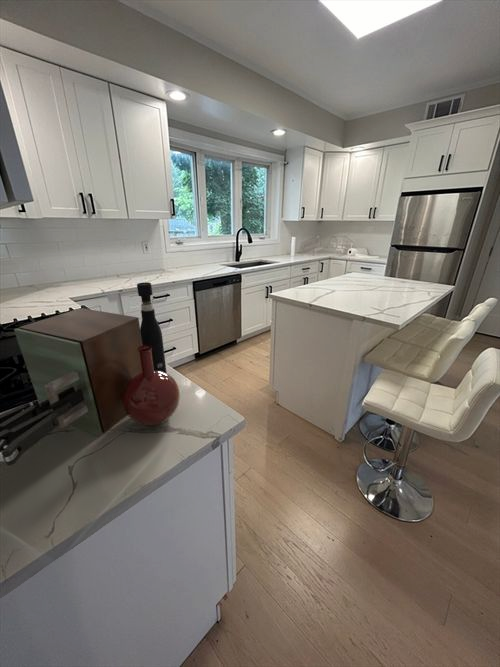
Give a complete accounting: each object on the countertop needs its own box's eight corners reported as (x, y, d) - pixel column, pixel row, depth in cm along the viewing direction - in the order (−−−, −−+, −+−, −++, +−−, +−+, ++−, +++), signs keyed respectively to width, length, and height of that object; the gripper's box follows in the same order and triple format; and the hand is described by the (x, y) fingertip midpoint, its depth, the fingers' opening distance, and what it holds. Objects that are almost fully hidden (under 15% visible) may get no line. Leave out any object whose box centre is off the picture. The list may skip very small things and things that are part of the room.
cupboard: (104, 433, 65) (82, 341, 56) (47, 412, 72) (18, 327, 63) (150, 396, 79) (138, 317, 70) (98, 381, 86) (81, 307, 77)
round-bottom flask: (165, 442, 63) (154, 365, 55) (115, 432, 66) (98, 357, 58) (190, 407, 75) (184, 339, 67) (147, 399, 78) (137, 334, 70)
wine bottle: (151, 369, 93) (139, 280, 81) (170, 371, 92) (159, 281, 81) (142, 379, 87) (127, 285, 76) (161, 381, 86) (149, 286, 75)
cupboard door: (74, 456, 59) (44, 357, 50) (15, 430, 66) (-21, 339, 57) (102, 434, 65) (79, 342, 56) (46, 412, 72) (17, 328, 63)
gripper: (-58, 480, 36) (99, 386, 56) (-109, 445, 41) (51, 371, 61) (-35, 518, 39) (106, 416, 59) (-86, 481, 44) (59, 399, 64)
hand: (77, 393), depth 60 cm, fingers closed on cupboard door, 2 cm apart
